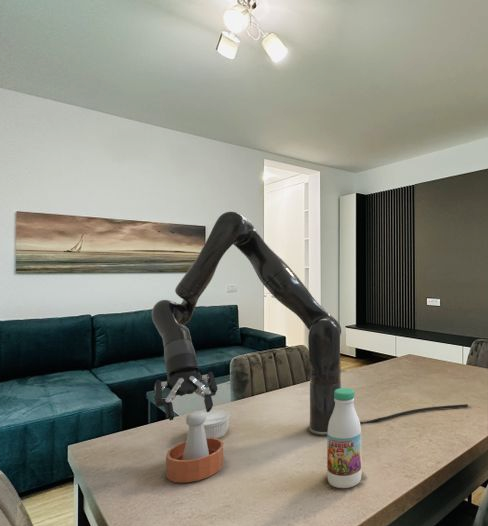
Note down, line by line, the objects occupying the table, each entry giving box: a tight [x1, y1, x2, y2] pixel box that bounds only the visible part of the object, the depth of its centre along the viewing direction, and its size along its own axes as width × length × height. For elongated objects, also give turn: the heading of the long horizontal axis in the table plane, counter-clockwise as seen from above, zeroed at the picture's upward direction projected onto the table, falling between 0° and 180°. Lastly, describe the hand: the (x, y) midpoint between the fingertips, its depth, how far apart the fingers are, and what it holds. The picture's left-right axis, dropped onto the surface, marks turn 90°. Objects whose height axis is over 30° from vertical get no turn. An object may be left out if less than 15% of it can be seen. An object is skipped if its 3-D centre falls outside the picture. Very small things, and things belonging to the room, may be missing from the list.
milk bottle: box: [326, 387, 363, 489], centre depth 85 cm, size 8×8×20 cm
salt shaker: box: [182, 410, 209, 460], centre depth 89 cm, size 6×6×13 cm
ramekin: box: [203, 409, 231, 439], centre depth 108 cm, size 11×11×5 cm
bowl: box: [165, 438, 225, 483], centre depth 89 cm, size 12×12×5 cm
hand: (191, 414), depth 93 cm, fingers open, 8 cm apart
